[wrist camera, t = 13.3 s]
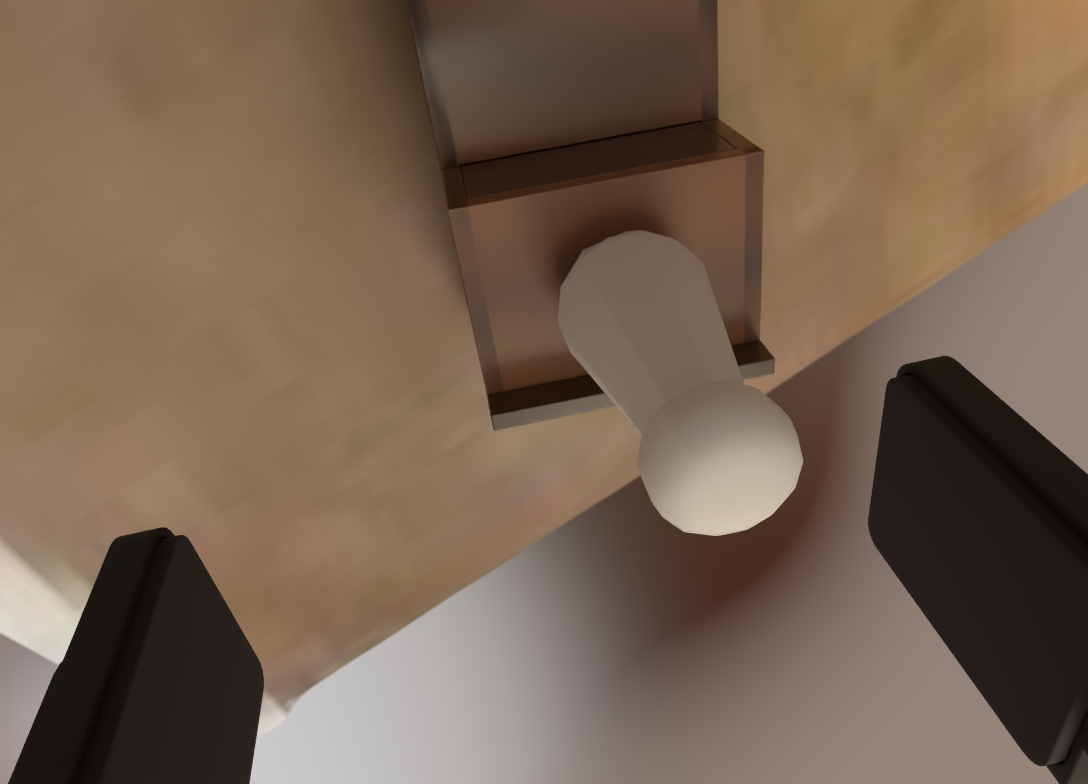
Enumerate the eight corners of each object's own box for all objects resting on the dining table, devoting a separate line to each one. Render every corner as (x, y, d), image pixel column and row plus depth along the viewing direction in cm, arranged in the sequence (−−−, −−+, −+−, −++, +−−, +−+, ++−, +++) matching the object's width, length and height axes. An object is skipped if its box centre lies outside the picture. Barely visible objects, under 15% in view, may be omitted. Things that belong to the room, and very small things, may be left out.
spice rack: (401, -27, 32) (402, 4, 23) (684, -75, 32) (790, -63, 24) (473, 314, 41) (493, 431, 32) (694, 271, 41) (774, 374, 33)
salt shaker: (687, 198, 29) (854, 375, 19) (693, 328, 33) (839, 545, 22) (537, 227, 29) (617, 426, 18) (557, 356, 32) (636, 590, 22)
